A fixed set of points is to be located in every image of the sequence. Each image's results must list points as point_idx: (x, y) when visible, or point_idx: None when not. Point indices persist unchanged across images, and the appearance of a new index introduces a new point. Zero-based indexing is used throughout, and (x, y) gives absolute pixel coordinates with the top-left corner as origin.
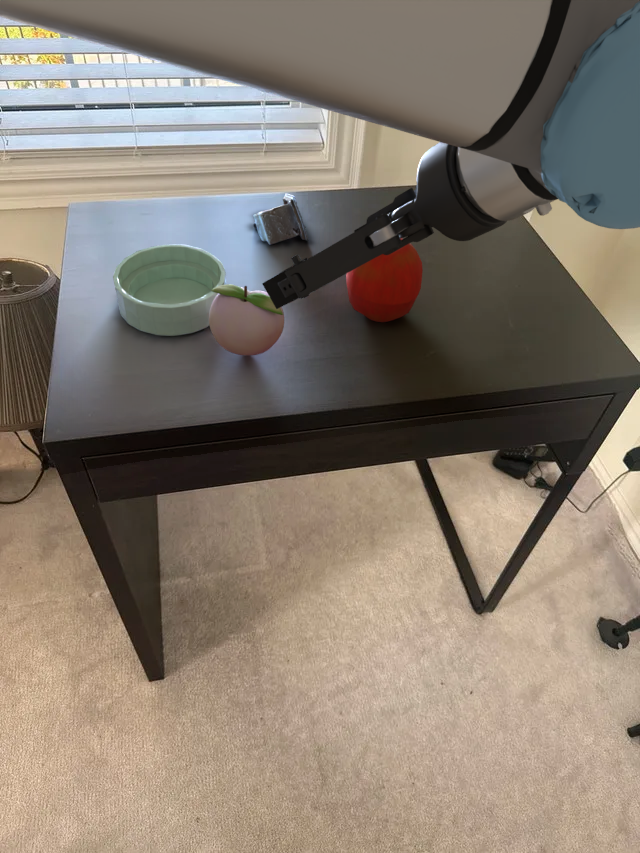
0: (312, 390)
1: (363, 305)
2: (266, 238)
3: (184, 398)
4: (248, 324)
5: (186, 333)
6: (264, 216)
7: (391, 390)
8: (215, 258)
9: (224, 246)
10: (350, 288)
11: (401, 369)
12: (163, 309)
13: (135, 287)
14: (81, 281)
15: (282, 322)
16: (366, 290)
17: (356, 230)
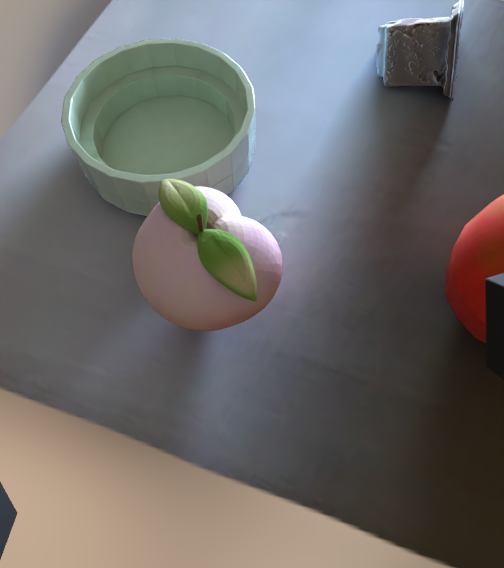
0: (267, 436)
1: (461, 309)
2: (383, 73)
3: (63, 343)
4: (174, 296)
5: (145, 215)
6: (393, 34)
7: (413, 519)
8: (250, 96)
9: (313, 65)
10: (454, 264)
11: (463, 473)
12: (100, 173)
13: (129, 99)
14: (84, 60)
15: (262, 300)
16: (480, 297)
17: (494, 287)
